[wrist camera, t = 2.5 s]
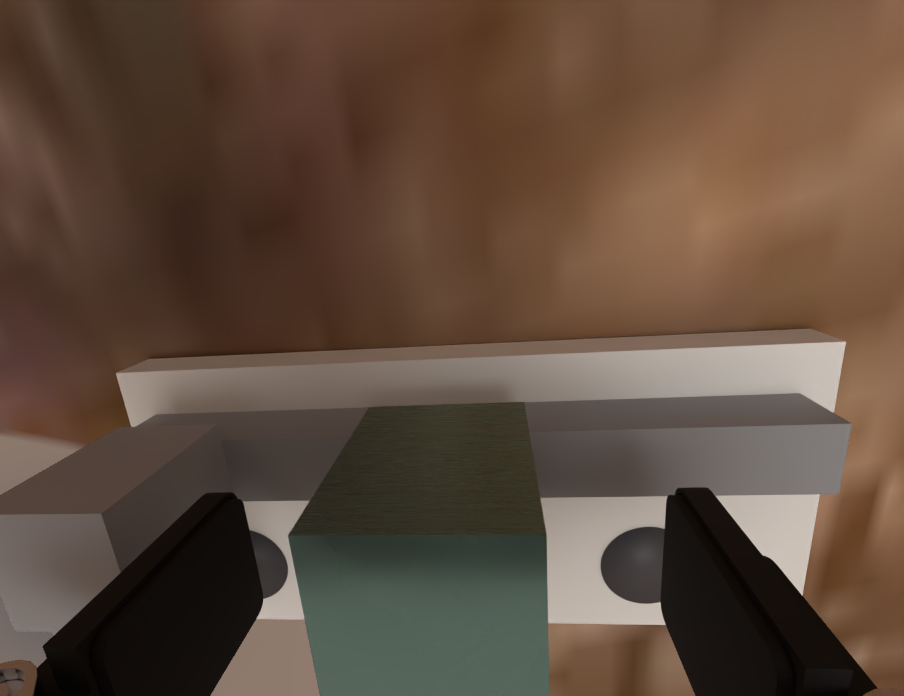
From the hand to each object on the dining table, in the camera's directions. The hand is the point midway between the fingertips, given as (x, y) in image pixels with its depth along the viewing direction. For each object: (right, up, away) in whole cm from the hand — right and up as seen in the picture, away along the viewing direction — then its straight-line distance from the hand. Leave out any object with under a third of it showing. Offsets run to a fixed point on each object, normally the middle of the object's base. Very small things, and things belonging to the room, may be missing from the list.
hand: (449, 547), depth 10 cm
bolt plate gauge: (+1, 0, +7) cm, 7 cm away
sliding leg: (0, 0, +4) cm, 5 cm away
